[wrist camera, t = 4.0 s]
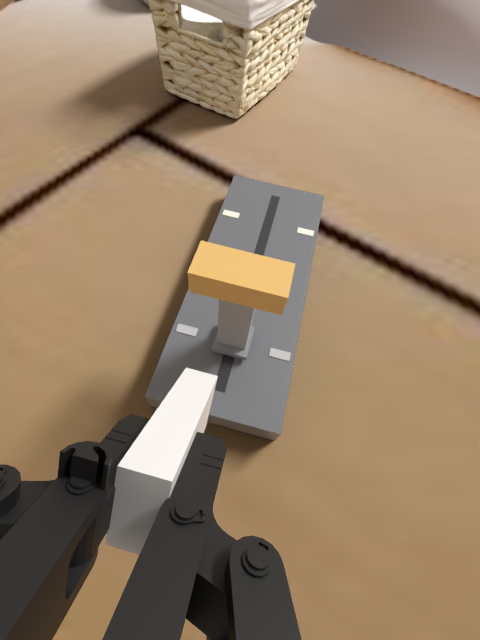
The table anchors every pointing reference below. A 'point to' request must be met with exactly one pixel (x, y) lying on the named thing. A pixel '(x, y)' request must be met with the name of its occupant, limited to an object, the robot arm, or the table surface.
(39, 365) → the table surface
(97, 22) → the table surface
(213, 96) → the storage basket
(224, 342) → the fader knob
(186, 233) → the table surface
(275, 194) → the fader console
